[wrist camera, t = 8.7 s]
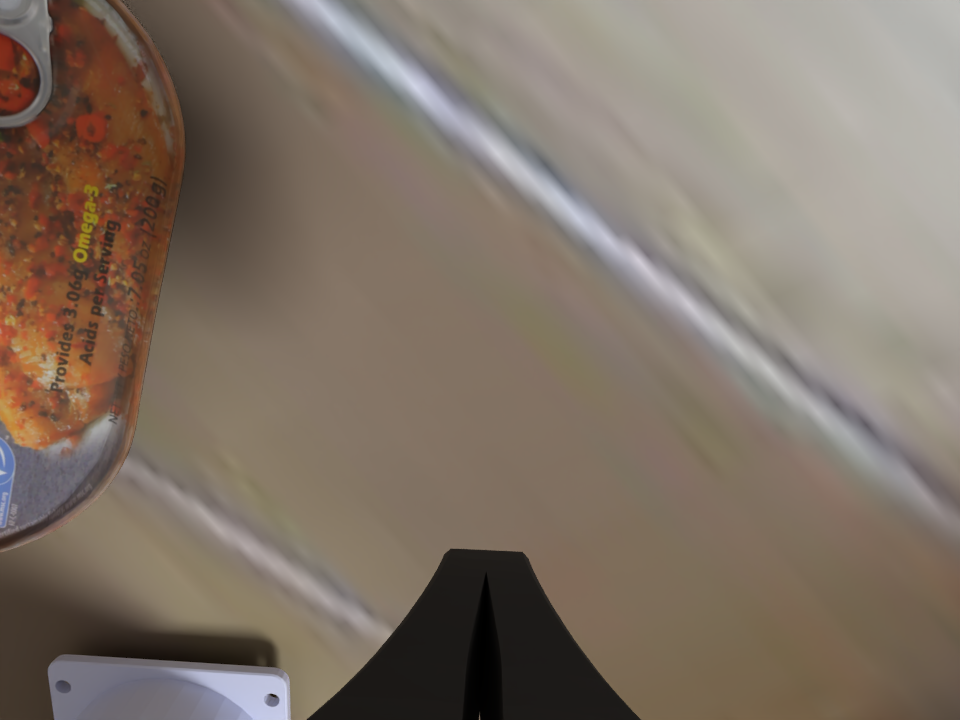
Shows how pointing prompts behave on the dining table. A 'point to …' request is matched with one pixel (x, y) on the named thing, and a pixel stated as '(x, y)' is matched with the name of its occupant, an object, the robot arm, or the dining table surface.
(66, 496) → the tin
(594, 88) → the dining table surface
